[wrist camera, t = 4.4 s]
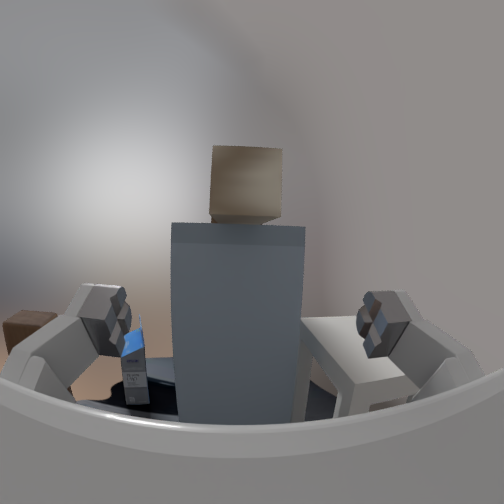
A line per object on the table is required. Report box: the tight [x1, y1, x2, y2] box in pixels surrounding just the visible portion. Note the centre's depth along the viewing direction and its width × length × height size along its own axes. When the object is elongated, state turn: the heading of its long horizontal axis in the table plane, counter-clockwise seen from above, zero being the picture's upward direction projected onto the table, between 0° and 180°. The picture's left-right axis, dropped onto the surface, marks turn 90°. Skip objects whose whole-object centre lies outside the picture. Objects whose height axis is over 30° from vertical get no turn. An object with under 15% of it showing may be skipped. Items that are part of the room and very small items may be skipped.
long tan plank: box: [209, 146, 282, 225], centre depth 22 cm, size 5×21×4 cm, turn 4°
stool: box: [290, 316, 420, 423], centre depth 25 cm, size 8×16×16 cm, turn 4°
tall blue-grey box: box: [171, 223, 305, 425], centre depth 29 cm, size 10×16×26 cm, turn 4°
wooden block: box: [3, 310, 73, 396], centre depth 16 cm, size 9×4×18 cm, turn 19°
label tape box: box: [121, 314, 150, 405], centre depth 38 cm, size 9×4×12 cm, turn 25°
